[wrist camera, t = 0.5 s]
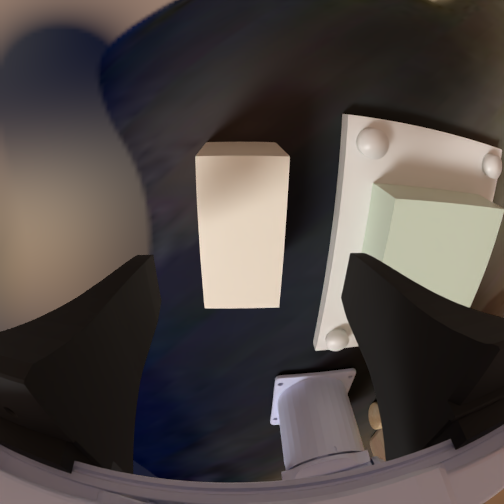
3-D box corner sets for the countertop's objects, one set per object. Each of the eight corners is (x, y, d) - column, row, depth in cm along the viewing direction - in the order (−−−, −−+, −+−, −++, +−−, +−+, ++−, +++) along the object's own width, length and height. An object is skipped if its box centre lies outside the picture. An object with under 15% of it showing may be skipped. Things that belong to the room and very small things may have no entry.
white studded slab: (441, 325, 25) (459, 352, 21) (312, 342, 24) (323, 378, 21) (494, 146, 16) (528, 159, 13) (342, 113, 16) (370, 118, 12)
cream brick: (269, 261, 20) (278, 307, 16) (210, 261, 20) (204, 308, 16) (275, 142, 17) (289, 156, 12) (206, 141, 16) (195, 156, 12)
